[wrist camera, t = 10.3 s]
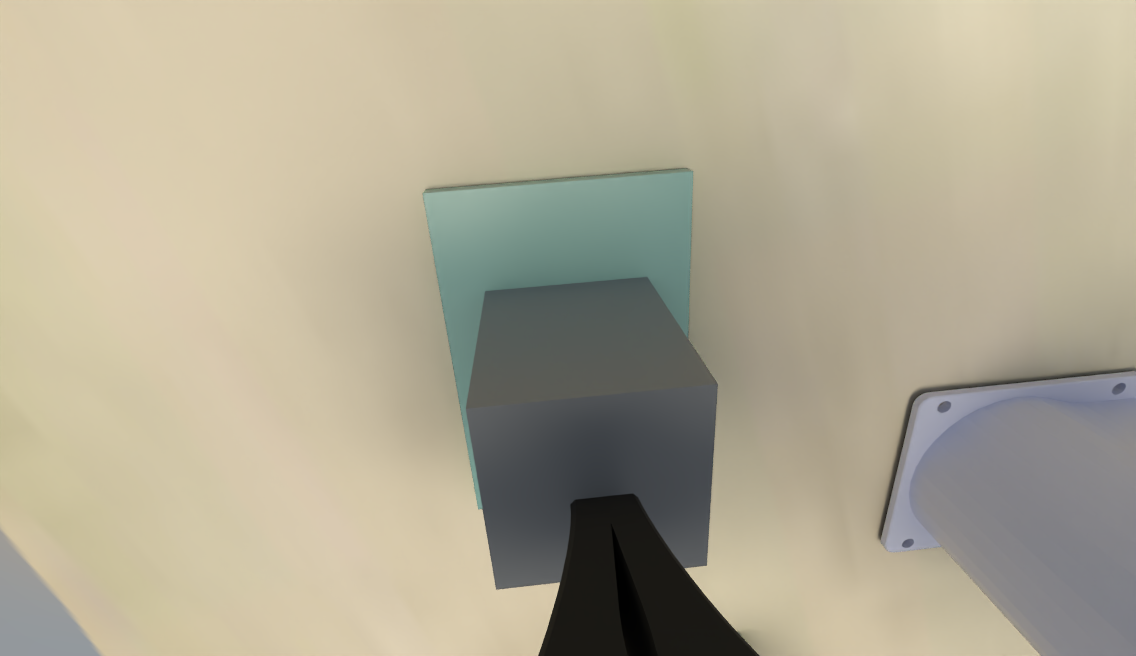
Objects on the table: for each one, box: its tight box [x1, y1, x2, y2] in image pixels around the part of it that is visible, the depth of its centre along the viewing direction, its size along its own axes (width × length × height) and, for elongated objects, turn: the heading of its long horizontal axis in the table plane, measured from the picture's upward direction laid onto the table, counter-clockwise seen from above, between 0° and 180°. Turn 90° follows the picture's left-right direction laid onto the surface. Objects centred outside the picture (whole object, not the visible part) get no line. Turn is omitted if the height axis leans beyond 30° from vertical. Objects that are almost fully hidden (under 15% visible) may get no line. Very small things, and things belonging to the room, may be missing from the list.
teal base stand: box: [423, 168, 693, 509], centre depth 16 cm, size 8×12×6 cm, turn 4°
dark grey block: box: [466, 277, 718, 590], centre depth 15 cm, size 5×5×7 cm
